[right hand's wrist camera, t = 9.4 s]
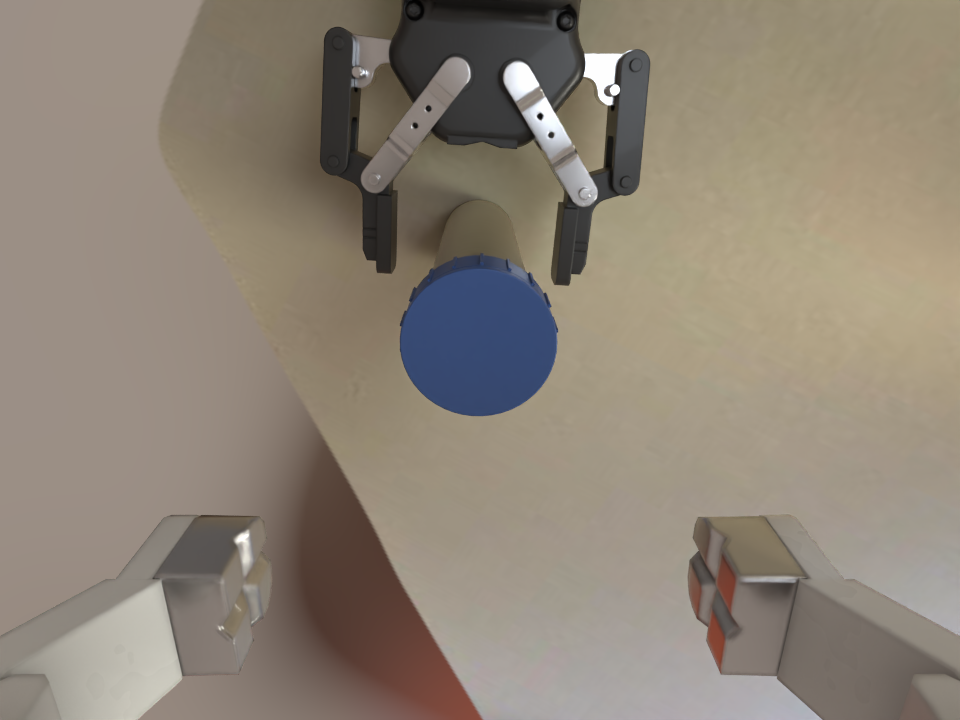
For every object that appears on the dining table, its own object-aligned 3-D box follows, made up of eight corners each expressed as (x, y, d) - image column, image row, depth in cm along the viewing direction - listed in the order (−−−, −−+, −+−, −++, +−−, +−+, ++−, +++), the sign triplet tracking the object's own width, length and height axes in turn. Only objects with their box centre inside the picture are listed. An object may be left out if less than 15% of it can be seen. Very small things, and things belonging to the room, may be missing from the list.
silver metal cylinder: (501, 190, 36) (521, 262, 19) (521, 257, 38) (556, 379, 21) (434, 212, 37) (396, 300, 20) (456, 277, 38) (438, 413, 21)
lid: (529, 232, 20) (533, 244, 19) (569, 371, 22) (576, 394, 20) (382, 278, 21) (373, 294, 19) (433, 410, 23) (429, 436, 21)
